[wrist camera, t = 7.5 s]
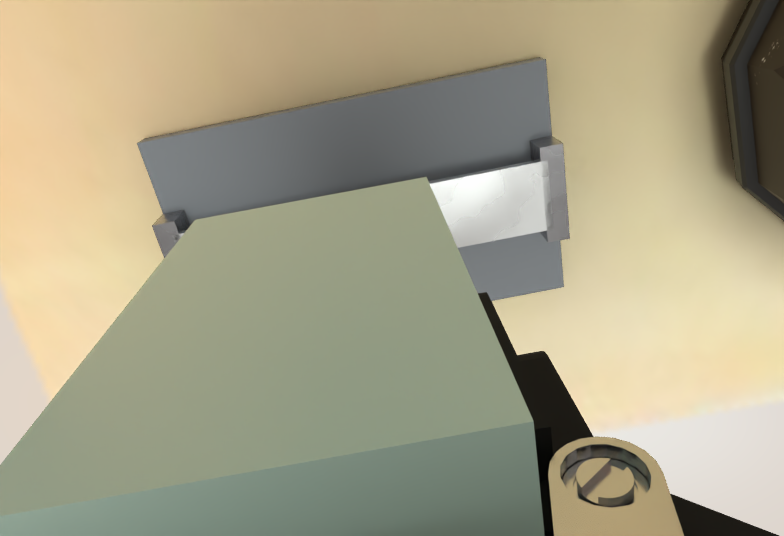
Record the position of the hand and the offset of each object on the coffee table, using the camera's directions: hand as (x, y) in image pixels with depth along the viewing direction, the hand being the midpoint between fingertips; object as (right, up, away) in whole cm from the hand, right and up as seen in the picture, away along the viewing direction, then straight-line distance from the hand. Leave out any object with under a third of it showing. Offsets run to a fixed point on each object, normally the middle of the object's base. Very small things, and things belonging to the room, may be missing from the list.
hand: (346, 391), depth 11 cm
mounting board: (0, +5, +17) cm, 18 cm away
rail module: (0, +1, +1) cm, 1 cm away
